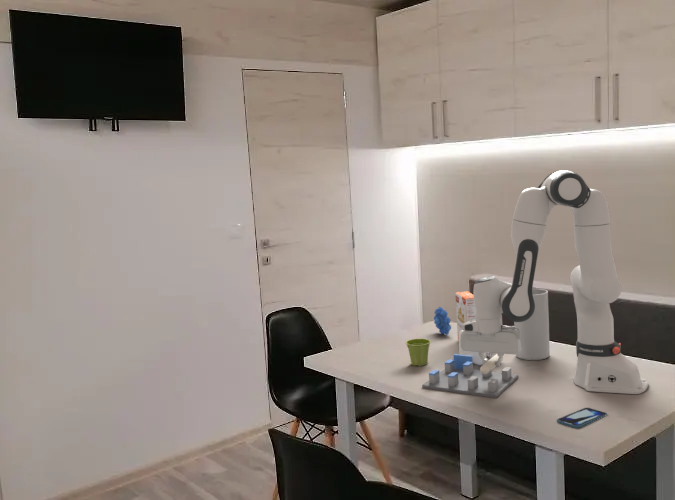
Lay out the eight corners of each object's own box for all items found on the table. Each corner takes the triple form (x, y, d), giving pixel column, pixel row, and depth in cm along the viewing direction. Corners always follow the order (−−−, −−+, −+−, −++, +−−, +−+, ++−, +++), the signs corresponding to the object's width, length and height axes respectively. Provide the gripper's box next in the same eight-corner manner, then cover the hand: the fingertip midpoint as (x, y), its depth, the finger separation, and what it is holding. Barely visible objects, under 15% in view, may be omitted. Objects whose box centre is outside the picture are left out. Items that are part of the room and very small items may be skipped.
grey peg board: (518, 377, 231) (517, 360, 230) (496, 398, 213) (495, 380, 212) (448, 369, 245) (447, 353, 245) (422, 387, 227) (421, 370, 226)
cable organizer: (504, 362, 248) (503, 332, 247) (481, 368, 244) (480, 337, 243) (480, 353, 262) (478, 324, 260) (457, 358, 258) (456, 329, 256)
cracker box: (456, 340, 283) (454, 291, 281) (470, 338, 284) (468, 290, 281) (466, 349, 269) (464, 298, 267) (481, 347, 270) (479, 296, 267)
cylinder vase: (547, 351, 259) (545, 287, 256) (551, 360, 247) (550, 294, 244) (514, 351, 261) (512, 289, 258) (517, 361, 249) (514, 295, 246)
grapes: (427, 333, 298) (426, 306, 297) (440, 330, 301) (439, 304, 299) (441, 338, 288) (440, 311, 286) (455, 335, 290) (453, 308, 289)
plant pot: (415, 369, 248) (413, 346, 247) (402, 363, 256) (401, 341, 255) (436, 364, 252) (435, 342, 251) (423, 358, 260) (422, 337, 259)
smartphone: (608, 413, 194) (578, 426, 185) (608, 416, 194) (578, 430, 185) (586, 407, 200) (555, 419, 191) (586, 410, 200) (555, 422, 191)
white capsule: (496, 360, 232) (495, 352, 231) (504, 361, 230) (503, 353, 230) (478, 375, 219) (478, 366, 218) (487, 376, 217) (487, 367, 217)
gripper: (522, 324, 219) (525, 364, 221) (464, 321, 231) (467, 359, 232) (516, 328, 214) (519, 370, 216) (457, 325, 226) (460, 365, 227)
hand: (491, 364), depth 224 cm, fingers closed on white capsule, 3 cm apart
